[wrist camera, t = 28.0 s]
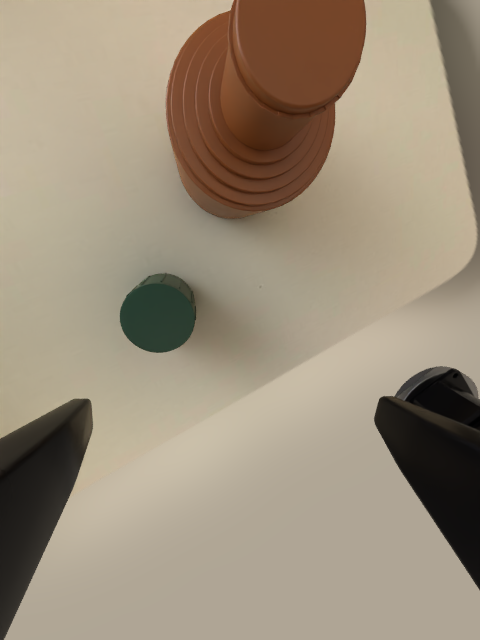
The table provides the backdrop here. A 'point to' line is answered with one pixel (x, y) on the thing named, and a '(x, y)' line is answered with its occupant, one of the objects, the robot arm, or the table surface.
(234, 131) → the bottle
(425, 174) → the table surface
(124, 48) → the table surface
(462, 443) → the robot arm
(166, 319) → the cap
